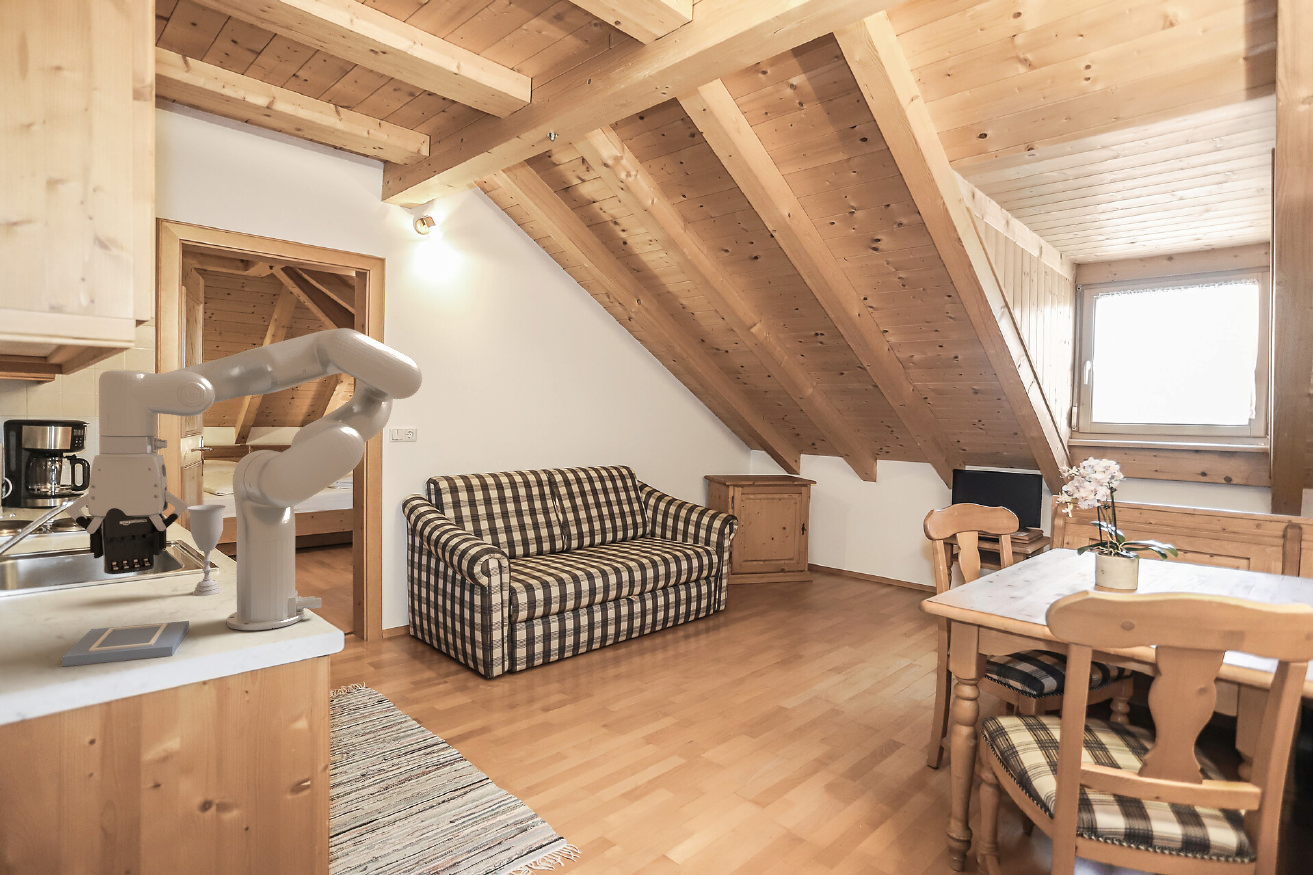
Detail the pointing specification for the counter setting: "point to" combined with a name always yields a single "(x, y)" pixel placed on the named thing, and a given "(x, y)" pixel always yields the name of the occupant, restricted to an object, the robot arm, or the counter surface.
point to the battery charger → (127, 543)
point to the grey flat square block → (126, 643)
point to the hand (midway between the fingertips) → (129, 554)
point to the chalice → (206, 540)
